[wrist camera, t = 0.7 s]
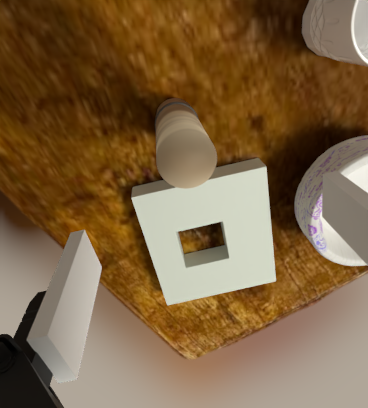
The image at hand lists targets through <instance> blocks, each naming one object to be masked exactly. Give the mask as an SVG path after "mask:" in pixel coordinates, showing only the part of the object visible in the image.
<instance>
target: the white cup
mask: <svg viewBox="0 0 368 408" xmlns="http://www.w3.org/2000/svg"><path fill="white" fill-rule="evenodd" d="M302 35H303V38H304V40H305V43H306V45H307V47H308V48H309V49H310V50H312V51H313V52H314V53H316V54H317V55H319V56H325V57H329V58H331V59H334V60H338V61H342V62H346V63H352V64H357V65H362V66H367V67H368V0H309V2H308V4H307V7H306V9H305V12H304V14H303V17H302Z"/></svg>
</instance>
